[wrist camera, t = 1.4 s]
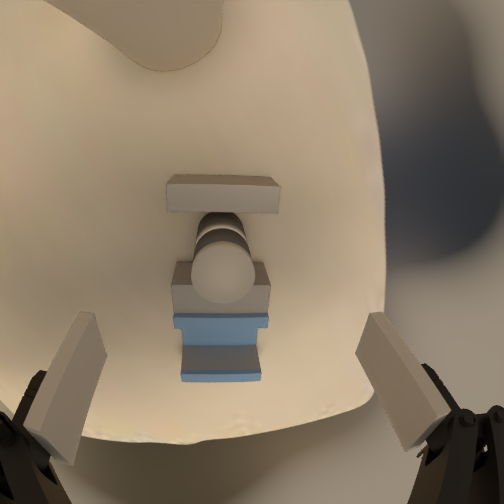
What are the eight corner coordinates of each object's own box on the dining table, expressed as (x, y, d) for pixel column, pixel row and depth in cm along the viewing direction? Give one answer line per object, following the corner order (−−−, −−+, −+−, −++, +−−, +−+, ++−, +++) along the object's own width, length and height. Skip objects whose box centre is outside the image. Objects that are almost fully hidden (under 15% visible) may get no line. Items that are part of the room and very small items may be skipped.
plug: (198, 252, 26) (192, 303, 18) (197, 209, 24) (190, 247, 17) (242, 252, 26) (252, 303, 19) (244, 210, 24) (257, 247, 17)
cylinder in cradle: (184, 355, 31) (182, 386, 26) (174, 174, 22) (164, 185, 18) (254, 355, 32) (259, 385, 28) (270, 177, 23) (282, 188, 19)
